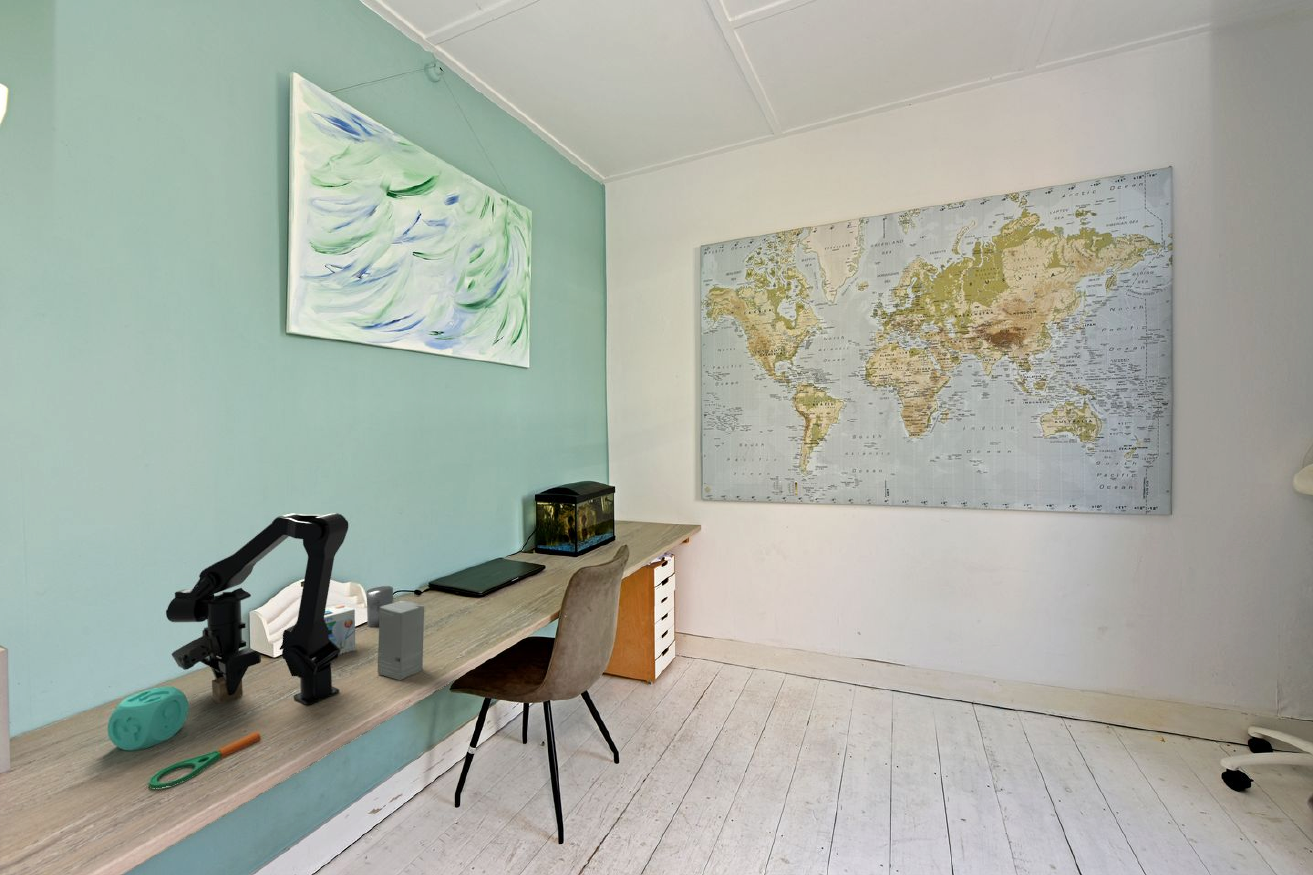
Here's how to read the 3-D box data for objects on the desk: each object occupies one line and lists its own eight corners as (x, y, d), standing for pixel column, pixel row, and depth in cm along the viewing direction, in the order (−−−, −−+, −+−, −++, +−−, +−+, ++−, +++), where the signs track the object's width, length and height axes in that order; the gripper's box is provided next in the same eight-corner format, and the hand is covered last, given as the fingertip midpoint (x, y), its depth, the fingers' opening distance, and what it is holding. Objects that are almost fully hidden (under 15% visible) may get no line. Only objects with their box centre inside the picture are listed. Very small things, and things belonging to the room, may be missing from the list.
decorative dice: (151, 726, 103) (149, 685, 103) (190, 726, 103) (189, 685, 103) (107, 751, 95) (105, 707, 95) (149, 751, 95) (147, 707, 95)
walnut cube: (242, 694, 115) (241, 676, 115) (220, 703, 111) (219, 684, 111) (234, 690, 117) (234, 672, 117) (212, 698, 113) (211, 680, 113)
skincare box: (376, 674, 123) (374, 607, 123) (404, 662, 129) (401, 598, 129) (400, 682, 119) (398, 612, 119) (427, 668, 125) (425, 603, 125)
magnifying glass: (157, 796, 83) (157, 786, 83) (142, 784, 86) (142, 774, 86) (266, 745, 96) (266, 736, 96) (250, 736, 99) (250, 727, 99)
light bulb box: (311, 664, 129) (309, 621, 129) (300, 657, 133) (299, 615, 133) (357, 649, 138) (355, 608, 138) (346, 643, 142) (344, 603, 142)
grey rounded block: (398, 621, 158) (397, 588, 158) (376, 628, 152) (374, 594, 152) (385, 617, 161) (384, 584, 161) (362, 624, 155) (361, 591, 155)
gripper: (160, 625, 112) (163, 697, 112) (193, 642, 102) (197, 721, 102) (224, 609, 121) (226, 676, 122) (260, 623, 111) (263, 696, 112)
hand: (227, 691), depth 114 cm, fingers closed on walnut cube, 4 cm apart
